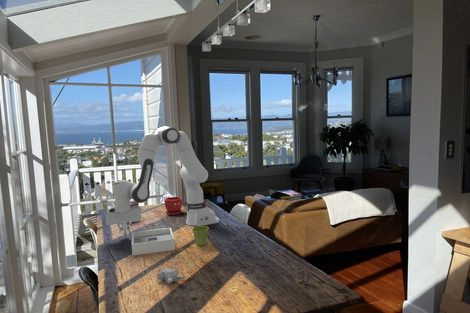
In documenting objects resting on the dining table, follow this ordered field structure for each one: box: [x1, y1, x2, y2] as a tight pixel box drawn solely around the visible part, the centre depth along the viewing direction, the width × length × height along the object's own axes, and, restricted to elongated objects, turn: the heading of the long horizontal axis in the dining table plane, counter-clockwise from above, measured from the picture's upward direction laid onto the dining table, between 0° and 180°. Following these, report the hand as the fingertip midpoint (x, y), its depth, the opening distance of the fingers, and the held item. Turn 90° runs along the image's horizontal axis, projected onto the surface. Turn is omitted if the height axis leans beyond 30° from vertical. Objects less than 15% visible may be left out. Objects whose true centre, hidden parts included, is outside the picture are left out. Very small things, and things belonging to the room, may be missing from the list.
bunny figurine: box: [156, 266, 186, 284], centre depth 152 cm, size 10×5×15 cm
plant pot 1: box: [164, 196, 183, 216], centre depth 267 cm, size 13×13×12 cm
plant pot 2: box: [191, 225, 210, 246], centre depth 197 cm, size 9×9×9 cm
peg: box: [121, 222, 129, 237], centre depth 212 cm, size 3×3×10 cm
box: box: [131, 227, 176, 256], centre depth 197 cm, size 22×22×6 cm
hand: (125, 229), depth 212 cm, fingers closed on peg, 3 cm apart
